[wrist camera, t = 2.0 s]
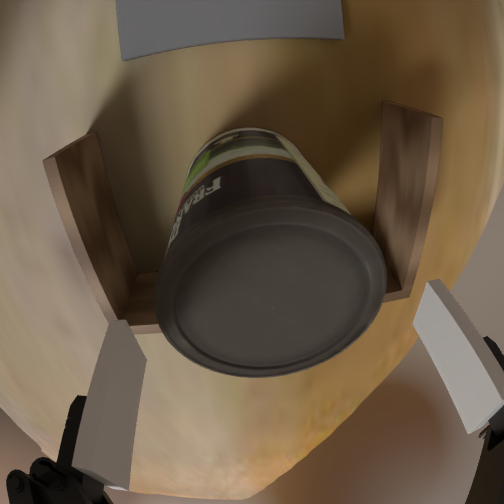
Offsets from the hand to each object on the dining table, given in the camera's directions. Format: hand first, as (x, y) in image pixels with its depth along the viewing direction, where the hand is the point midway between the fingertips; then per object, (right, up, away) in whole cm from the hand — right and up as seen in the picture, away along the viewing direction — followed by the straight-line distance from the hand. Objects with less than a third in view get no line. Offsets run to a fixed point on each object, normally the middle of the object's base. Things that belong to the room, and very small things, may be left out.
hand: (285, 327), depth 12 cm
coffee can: (-2, +8, +12) cm, 15 cm away
